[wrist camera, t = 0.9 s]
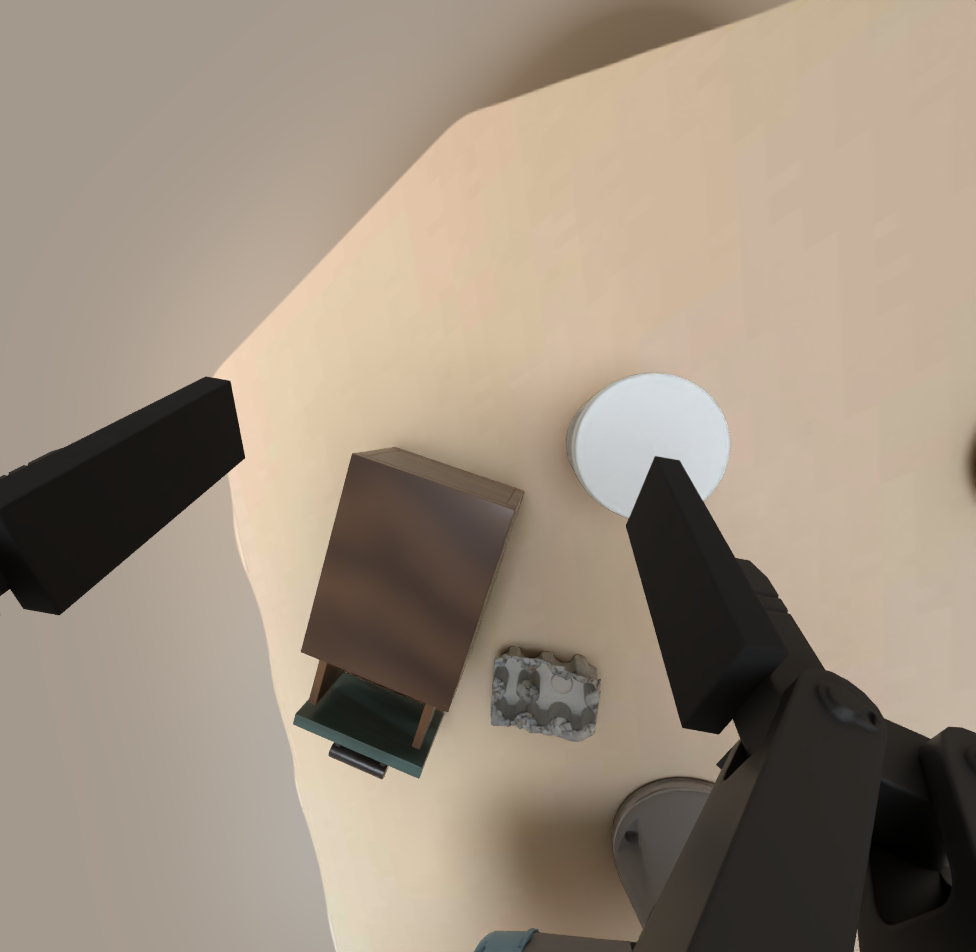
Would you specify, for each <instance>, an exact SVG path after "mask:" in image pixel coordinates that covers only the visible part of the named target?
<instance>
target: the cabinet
mask: <svg viewBox="0 0 976 952" xmlns="http://www.w3.org/2000/svg"><path fill="white" fill-rule="evenodd" d="M523 494H524V491H523V490H520V489H517V488H514V487H511V486H508V485H505V484H502V483H499V482H496V481H493V480H490V479H487V478H484V477H481V476H478V475H475V474H473V473H470V472H467V471H464V470H461V469H458V468H455V467H452V466H449V465H446V464H443V463H440V462H437V461H434V460H431V459H428V458H425V457H423V456H420V455H417V454H414V453H411V452H408V451H405V450H402V449H399V448H396V447H392V448H387V449H380V450H374V451H367V452H360V453H353V454H352V456H351V460H350V464H349V468H348V472H347V475H346V479H345V483H344V487H343V491H342V495H341V499H340V503H339V506H338V510H337V514H336V518H335V522H334V526H333V530H332V533H331V537H330V541H329V545H328V549H327V553H326V557H325V561H324V564H323V568H322V572H321V576H320V580H319V584H318V588H317V592H316V595H315V599H314V603H313V607H312V611H311V615H310V619H309V623H308V626H307V630H306V634H305V638H304V642H303V646H302V650H301V652H302V653H304V654H307V655H309V656H312V657H314V658H317V659H319V660H322V661H324V662H326V663H329V664H331V665H334V666H336V667H339V668H341V669H343V670H346V671H348V672H351V673H353V674H356V675H358V676H361V677H363V678H365V679H368V680H370V681H373V682H375V683H378V684H380V685H382V686H385V687H387V688H390V689H392V690H395V691H397V692H400V693H402V694H404V695H407V696H409V697H412V698H414V699H417V700H419V701H421V702H424V703H426V704H429V705H431V706H434V707H436V708H439V709H441V710H443V711H446V712H448V711H449V708H450V706H451V703H452V700H453V698H454V695H455V692H456V690H457V687H458V684H459V682H460V679H461V676H462V674H463V671H464V668H465V666H466V663H467V660H468V658H469V655H470V652H471V649H472V646H473V643H474V640H475V637H476V634H477V631H478V628H479V625H480V622H481V619H482V616H483V613H484V610H485V607H486V604H487V601H488V598H489V595H490V592H491V589H492V586H493V583H494V580H495V577H496V575H497V572H498V569H499V566H500V563H501V560H502V557H503V554H504V551H505V548H506V545H507V542H508V539H509V536H510V533H511V530H512V527H513V524H514V521H515V518H516V515H517V512H518V509H519V506H520V503H521V500H522V497H523Z"/></svg>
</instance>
